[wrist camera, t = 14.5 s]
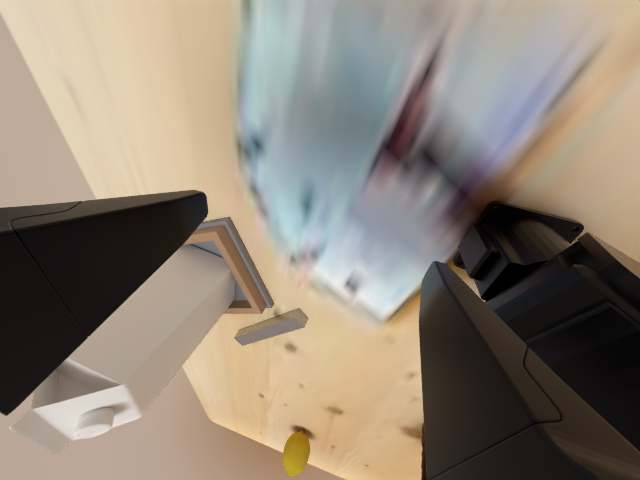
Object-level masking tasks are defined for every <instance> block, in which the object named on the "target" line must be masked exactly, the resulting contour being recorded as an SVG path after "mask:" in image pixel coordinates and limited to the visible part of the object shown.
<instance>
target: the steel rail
mask: <svg viewBox="0 0 640 480" xmlns="http://www.w3.org/2000/svg"><path fill="white" fill-rule="evenodd" d="M307 320H308V318H307V317H306V316H305V315H304V314H303V312H302V311H301V310H300V309H296V310H294V311H291V312H288V313H285V314H282V315H280V316H277V317H274V318H271V319H269V320H266V321H263V322H260V323H257V324H255V325H252V326H249V327H246V328H244V329H241V330H239V331H238V332H237V334H236V335H235V337H234V338H235V339H236V340H237V341H238V342H239V343H240V344H241V345H242V346H243V345H246V344H250V343H253V342H257V341H260V340H263V339H267V338H270V337H273V336H277V335H280V334H283V333H287V332H290V331H294V330H297V329H300V328H304V327H305V324H306V322H307Z"/></svg>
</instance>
